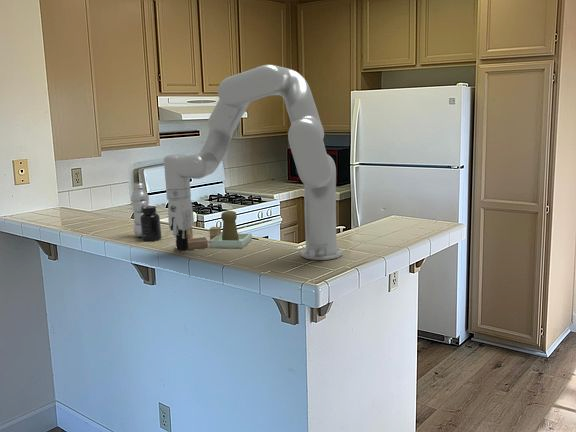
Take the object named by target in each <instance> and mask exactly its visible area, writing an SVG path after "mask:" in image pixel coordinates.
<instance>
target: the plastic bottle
mask: <svg viewBox="0 0 576 432" xmlns="http://www.w3.org/2000/svg"><path fill="white" fill-rule="evenodd" d="M133 189H134V190H133V192H132V193H131V196H130V201H131V204H132V209H133V216H134V219H133V220H134V223H133V232H134V235H135V236H136V237H139V238H142V231H141V222H140V217H141V216H142V215H143V213H142V207H146V206H150V205H149V203H150V198H149V197H150V196H149V194H148V193H147V191H146V190H145V183H144V182H134V183H133Z"/></svg>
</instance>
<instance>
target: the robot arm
mask: <svg viewBox="0 0 576 432" xmlns="http://www.w3.org/2000/svg"><path fill="white" fill-rule="evenodd" d="M217 95H218V101H217V103H216V104H215V106H214V107H213V110H212V112H211V114H210V116H209V117H208V122H207V125H208V135H207V138H206V140H205V142H204V144H203V146H202V148H201V150H200V152H199V153H195V154H191V155H185V154H179V153H177V154H168V155H165V157H164V158H163V165H164V167H163V168H164V178H165V179H164V181H165V191H166V200H167V201H168V203H167V204H168V205H167V216H168V227H169V230H170V231H172V235H173V236H175V242H176V241H177V248H176V251H177V250H178V251H179V252H186V250H188V229H189V228H190V227H192V228H193V226H194V225H195V220H194V209H193V203H192V199H191V198H192V194H191V183H190V182H191V181H190V179H195V180H196V179H197V180H198V179H202V178H205V177H207V176H209V175H212V174H213V173H214V172H216V170H217V168H218V167H219V166H220V164H221V162H222V160H223V159H224V156H225V155H226V153H227V150H228V149H229V146H230V143H231V141H232V139H233V135H234V132H235V131H236V128H237V127H238V125H239V123H240V121H241V119H242V118H243V115H244V114H245V112H246V110H247V108H249V106H250V104H251V102H253V101H256V100H259V99H262V98H266V97H269V96H281V97H282V98H283V100H284V104H285V108H286V111H287V114H288V117H289V121H290V127H289V129H288V132H287V135H288V137H287V139H288V144H289V147H290V150H291V151H290V152H291V155H292V158H293V161H294V163H295V167H296V172H297V174H298V177H299V178H300V180H301V182H302V184H303V185H304V186H303V187H304V191H303V196H304V228H305V230H304V231H305V233H304V234H305V248H304V249H302V250H301V251H300V256H301V257H302V258H304V259H307V260H312V261H326V260H329V261H330V260H334V259H337V258H339V257H341V256H342V255H343V251H342V250H341V249H340V248H338V244H337V241H338V240H337V195H336V194H337V192H336V191H337V167H336V163H335V160H334V159H333V158H332V156H331V155H329V154H328V153H327V149H326V146H325V142H324V137H325V130H324V127H323V124H322V121H321V118H320V115H319V111H318V109H317V105H316V102H315V99H314V97H313V93H312V90H311V88H310V86H309V83H308V82H307V80H306V79H305V77H304V76H303V75H302V74H300V73H299V72H298V71H296V70H295V69H291V68H288V67H283V66H278V65H275V64H264V65H259V66H257V67H255V68H251V69H249V70H246V71H243V72H240V73H237V74H234V75H233V74H232V75H231V76H228V77H225V78H224V79H223V80H222V81H220V83H219V86H218V89H217ZM178 251H177V252H178Z"/></svg>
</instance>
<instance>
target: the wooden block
mask: <svg viewBox="0 0 576 432" xmlns="http://www.w3.org/2000/svg"><path fill="white" fill-rule="evenodd" d="M208 243H209V241H208V240H207V238H206V237H205V236H203V237H193V238H191V239H188V250H189V251H195V250H194V249H199V250H206V249H205V248H208V249H209V244H208ZM176 247H177V241H176V240H175V248H176Z"/></svg>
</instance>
